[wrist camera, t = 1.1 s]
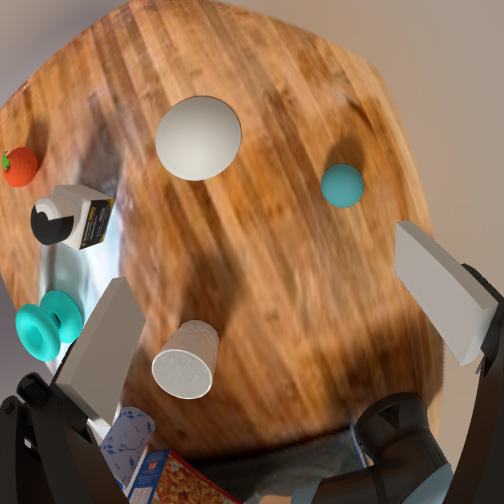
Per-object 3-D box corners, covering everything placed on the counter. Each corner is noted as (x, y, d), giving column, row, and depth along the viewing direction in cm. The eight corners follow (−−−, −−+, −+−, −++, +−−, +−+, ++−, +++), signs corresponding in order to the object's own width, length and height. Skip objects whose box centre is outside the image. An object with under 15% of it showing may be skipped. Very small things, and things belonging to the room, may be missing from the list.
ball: (361, 175, 36) (375, 173, 31) (348, 212, 38) (361, 215, 32) (325, 159, 36) (334, 154, 31) (311, 197, 38) (319, 198, 32)
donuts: (7, 326, 34) (23, 295, 32) (39, 307, 44) (59, 277, 42) (41, 372, 35) (62, 348, 34) (70, 347, 45) (94, 321, 43)
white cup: (191, 305, 41) (171, 337, 32) (233, 337, 42) (225, 375, 32) (164, 339, 43) (141, 373, 33) (204, 368, 44) (190, 407, 34)
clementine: (15, 167, 39) (-10, 167, 32) (32, 137, 37) (6, 134, 30) (32, 194, 39) (5, 196, 32) (50, 164, 38) (22, 162, 31)
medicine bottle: (103, 242, 40) (55, 259, 29) (71, 225, 40) (21, 237, 28) (116, 198, 39) (67, 202, 27) (82, 184, 39) (31, 184, 27)
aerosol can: (135, 435, 49) (101, 502, 29) (113, 409, 47) (70, 475, 28) (162, 430, 48) (131, 505, 28) (139, 403, 46) (97, 478, 27)
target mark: (253, 109, 36) (253, 109, 35) (223, 192, 38) (223, 192, 38) (173, 89, 35) (173, 89, 35) (145, 167, 38) (144, 167, 38)
